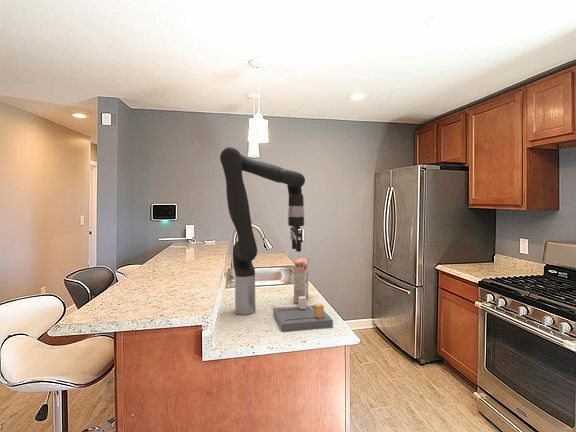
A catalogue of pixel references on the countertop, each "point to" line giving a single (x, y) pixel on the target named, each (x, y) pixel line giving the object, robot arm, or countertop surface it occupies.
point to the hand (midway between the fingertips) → (296, 250)
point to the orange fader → (318, 310)
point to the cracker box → (301, 278)
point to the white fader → (302, 302)
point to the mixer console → (300, 319)
